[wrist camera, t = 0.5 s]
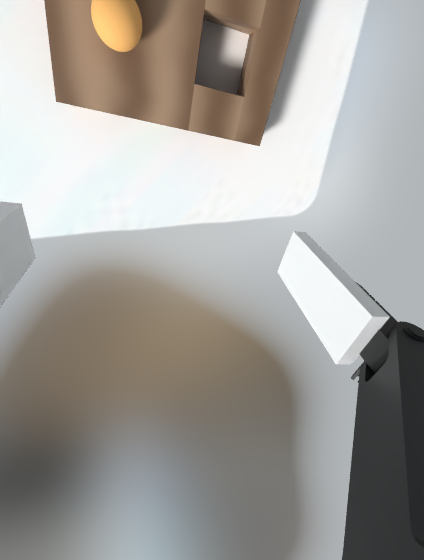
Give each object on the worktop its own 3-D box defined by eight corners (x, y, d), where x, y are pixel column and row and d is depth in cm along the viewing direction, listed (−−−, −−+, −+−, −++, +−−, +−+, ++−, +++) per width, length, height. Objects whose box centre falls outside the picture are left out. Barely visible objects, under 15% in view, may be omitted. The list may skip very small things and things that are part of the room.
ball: (94, -16, 21) (84, -35, 18) (144, 0, 22) (142, -14, 19) (97, 47, 23) (87, 40, 20) (142, 59, 24) (139, 55, 21)
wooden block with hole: (66, 100, 28) (56, 101, 25) (45, -112, 20) (27, -144, 17) (251, 141, 34) (259, 146, 31) (291, -12, 26) (307, -24, 23)
